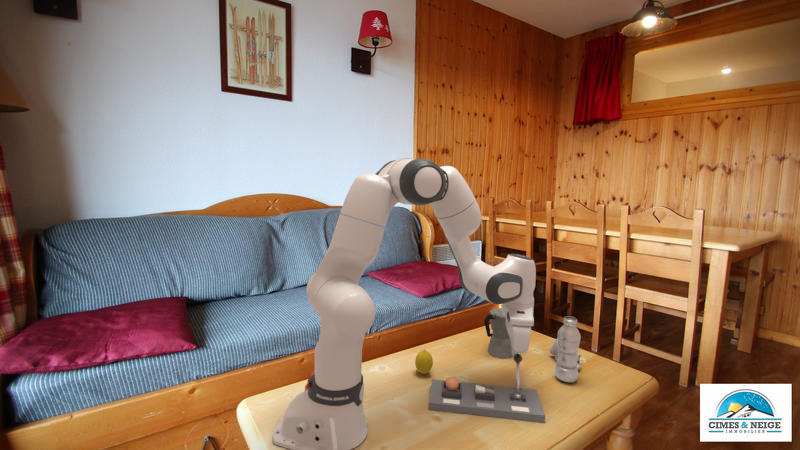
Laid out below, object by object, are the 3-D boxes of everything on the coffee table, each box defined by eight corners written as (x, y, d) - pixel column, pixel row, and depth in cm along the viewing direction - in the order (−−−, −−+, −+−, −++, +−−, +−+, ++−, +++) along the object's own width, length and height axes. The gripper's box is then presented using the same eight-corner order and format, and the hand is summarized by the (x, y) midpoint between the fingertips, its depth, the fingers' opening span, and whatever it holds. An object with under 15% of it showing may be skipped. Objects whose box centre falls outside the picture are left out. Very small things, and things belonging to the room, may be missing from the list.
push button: (445, 389, 106) (445, 382, 106) (445, 382, 110) (446, 375, 109) (458, 390, 106) (458, 384, 105) (458, 383, 109) (458, 377, 109)
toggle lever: (514, 398, 104) (514, 353, 107) (512, 397, 106) (512, 353, 110) (523, 399, 104) (522, 354, 107) (521, 398, 106) (521, 353, 109)
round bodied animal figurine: (564, 378, 125) (572, 360, 121) (545, 350, 135) (552, 332, 131) (583, 376, 127) (592, 358, 123) (563, 348, 137) (570, 330, 133)
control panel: (428, 409, 103) (428, 397, 103) (431, 385, 115) (432, 374, 114) (544, 422, 99) (545, 409, 98) (535, 396, 110) (536, 384, 110)
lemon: (431, 379, 118) (432, 355, 117) (413, 377, 119) (414, 353, 118) (433, 370, 123) (434, 347, 122) (416, 368, 124) (417, 345, 123)
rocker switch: (475, 392, 106) (476, 388, 106) (475, 388, 108) (475, 385, 108) (493, 397, 105) (494, 393, 105) (492, 392, 107) (493, 389, 107)
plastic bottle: (573, 388, 115) (578, 324, 112) (550, 379, 119) (555, 318, 117) (580, 379, 120) (586, 318, 117) (558, 372, 124) (563, 313, 121)
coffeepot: (503, 343, 144) (506, 297, 142) (523, 353, 136) (527, 305, 134) (473, 353, 136) (475, 304, 133) (492, 364, 128) (495, 313, 126)
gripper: (502, 296, 122) (499, 337, 124) (510, 321, 102) (507, 369, 104) (522, 298, 121) (519, 339, 123) (535, 323, 101) (531, 372, 103)
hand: (514, 353), depth 114 cm, fingers closed
